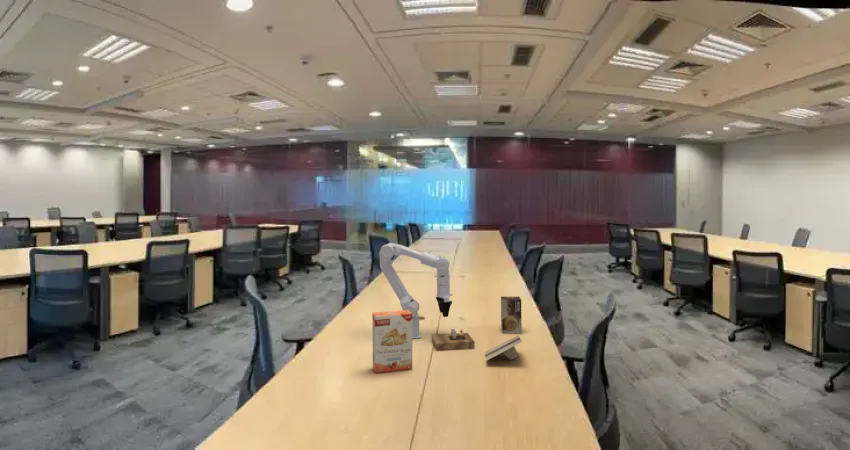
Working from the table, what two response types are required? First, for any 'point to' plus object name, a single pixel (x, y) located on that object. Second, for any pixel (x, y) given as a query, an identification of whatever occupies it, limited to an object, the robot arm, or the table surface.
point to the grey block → (454, 335)
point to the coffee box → (511, 315)
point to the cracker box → (392, 341)
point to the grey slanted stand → (505, 349)
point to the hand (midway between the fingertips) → (443, 314)
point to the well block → (452, 342)
